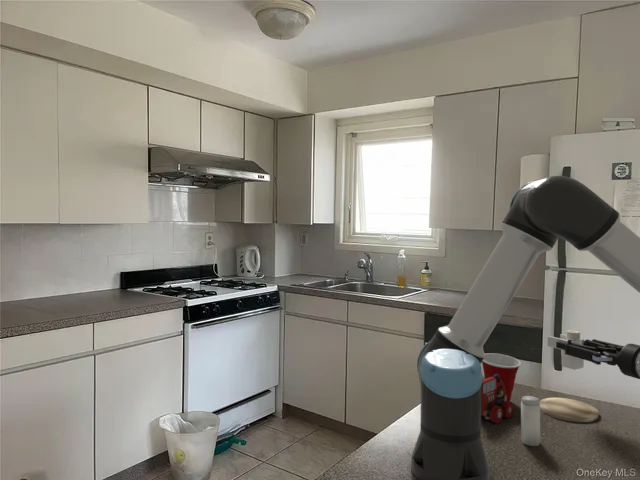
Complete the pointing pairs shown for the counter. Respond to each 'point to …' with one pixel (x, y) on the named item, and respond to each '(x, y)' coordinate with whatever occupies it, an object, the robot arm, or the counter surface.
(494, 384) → the toy fire truck
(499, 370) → the plastic cup
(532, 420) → the salt shaker
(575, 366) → the pepper shaker
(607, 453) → the counter surface
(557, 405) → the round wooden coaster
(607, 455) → the counter surface
